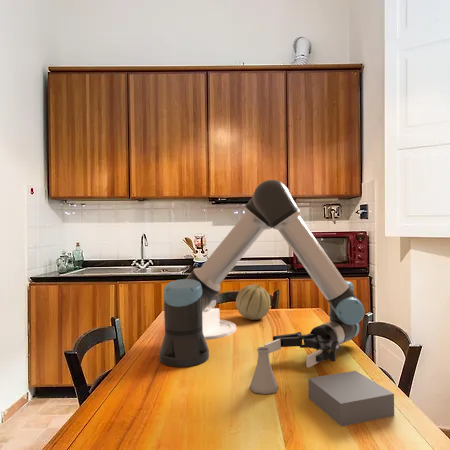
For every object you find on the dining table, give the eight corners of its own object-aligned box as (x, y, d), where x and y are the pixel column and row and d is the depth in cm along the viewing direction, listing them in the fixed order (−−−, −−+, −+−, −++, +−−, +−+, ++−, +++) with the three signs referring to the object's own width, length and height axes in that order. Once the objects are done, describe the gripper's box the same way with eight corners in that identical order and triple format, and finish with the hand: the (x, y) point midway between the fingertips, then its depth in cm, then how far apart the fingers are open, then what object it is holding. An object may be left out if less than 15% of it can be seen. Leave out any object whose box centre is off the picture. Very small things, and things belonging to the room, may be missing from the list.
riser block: (341, 428, 75) (340, 403, 75) (308, 399, 87) (308, 378, 87) (394, 417, 79) (394, 393, 79) (355, 390, 91) (355, 370, 91)
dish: (180, 321, 159) (179, 295, 159) (238, 322, 156) (238, 295, 156) (164, 339, 134) (163, 308, 134) (233, 340, 131) (232, 309, 131)
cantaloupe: (235, 315, 166) (234, 281, 165) (267, 314, 166) (266, 280, 166) (238, 324, 151) (237, 287, 151) (274, 323, 152) (273, 286, 152)
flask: (280, 395, 89) (279, 353, 89) (250, 395, 89) (249, 354, 89) (276, 382, 96) (276, 343, 96) (248, 382, 97) (248, 344, 97)
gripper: (366, 358, 105) (328, 383, 90) (292, 340, 123) (250, 358, 108) (366, 332, 105) (327, 352, 90) (292, 317, 123) (249, 332, 108)
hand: (285, 355), depth 99 cm, fingers open, 13 cm apart
